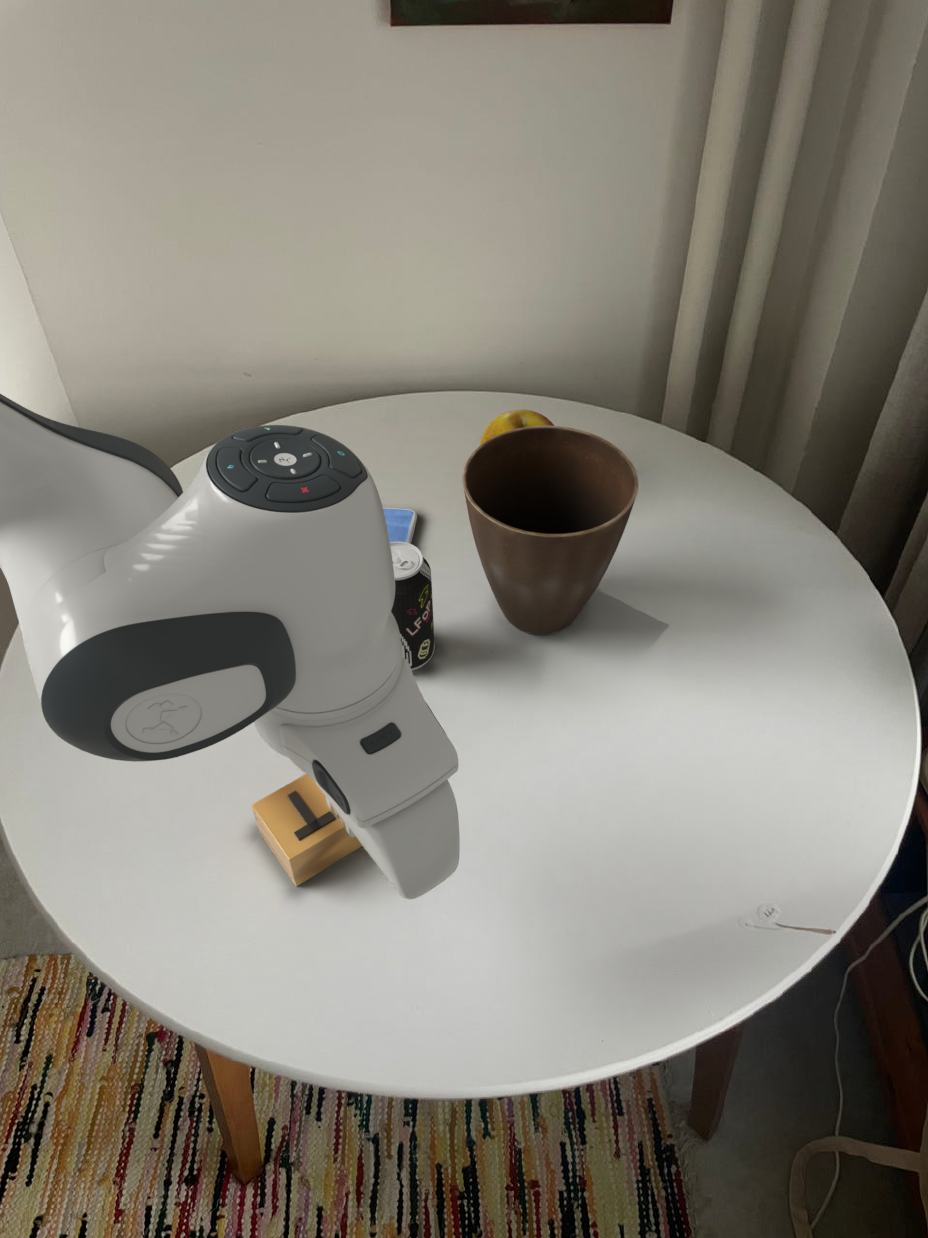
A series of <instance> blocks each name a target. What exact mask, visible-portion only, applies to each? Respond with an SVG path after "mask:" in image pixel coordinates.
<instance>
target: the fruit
mask: <svg viewBox="0 0 928 1238" xmlns="http://www.w3.org/2000/svg"><path fill="white" fill-rule="evenodd" d="M530 426H555V424H554V423H553V421H551V420H550V419H549V418H548V417H547V416H545V415H543V414H542V413H539V412H537V411H535V410H529V409H515V410H514V409H513V410H509V411H506V412H503V413H501V414H499V415H498V416H496V417H495V418H493V419H492V421H491V422H490V423H489V424H488V425H487V426H486V428H485V430H483V433H482V435H481V438H480V440H479V441H480V442H479V446H480V445H481V444H483V443H484V442H486V441H487V440H489V439H491V438H493V437H495V436H497V435H499V434H502V433H504V432H507V431H510V430H514V429H518V428H524V427H530Z"/></svg>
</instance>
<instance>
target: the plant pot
mask: <svg viewBox="0 0 928 1238" xmlns="http://www.w3.org/2000/svg"><path fill="white" fill-rule="evenodd" d="M462 486H463V487H462V488H463V491H464V498H465V502H466V503H465V504H466V508H467V514H468V520H469V525H470V528H471V529H470V530H471V532H472V536H473V540H474V544H475V547H476V548H475V549H476V550H477V554H478V557H479V560H480V563H481V566H482V569H483V572H484V574H485V577H486V579H487V582H488V584H489V587H490V590H491V591H492V594H493V596H494V598H495V600H496V602H497V604H498V606H499V608H500V610H501V612H502V614H503V616H504V618H505V619H506V620H507V621H508V623H510V625H512V626H513V627H515V628H516V629H518V630H520V631H522V632H525V633H528V634H533V635H543V636H544V635H551V634H556V633H559V632H561V631H564V630H566V629H567V628H569V627H570V626H571V625H572V624H573V623H574V622H575V621H576V619H577V618H578V617H579V615H580V614H581V613H582V611H583V610H584V608H585V607H586V605H587V604H588V603H589V601H590V599H591V598H592V596H594V594H595V591H596V590H597V589H598V587H599V585H600V583H601V581H602V580H603V578H604V576H605V574H606V572H607V570H608V568H609V566H610V564H611V562H612V560H613V558H614V556H615V553H616V551H617V549H618V547H619V545H620V542H621V540H622V538H623V535H624V533H625V530H626V527H627V524H628V521H629V519H630V517H631V513H632V510H633V508H634V504H635V501H636V498H637V495H638V491H639V478H638V474H637V470H636V468H635V467H634V464H633V462H632V461H631V460H630V458H629V457H628V456H627V455H626V454H625V453H624V452H623V450H621V449H620V448H618V446H616V445H615V444H614V443H612V442H610V441H608V440H606V439H605V438H604V437H603V438H602V437H601V436H599V435H596V434H594V433H592V432H589V431H586V430H582V429H578V428H573V427H568V426H562V425H561V426H560V425H554V426H530V427H524V428H518V429H514V430H510V431H507V432H504V433H502V434H499V435H497V436H495V437H493V438H491V439H489V440H487V441H486V442H484V443H483V444H481V445H480V444H479V445H478V447H477V448H476V449H474V450H473V451H472V452H471V454H470V455H469V456H468V458H467V460H466V462H465V465H464V467H463V470H462Z"/></svg>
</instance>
